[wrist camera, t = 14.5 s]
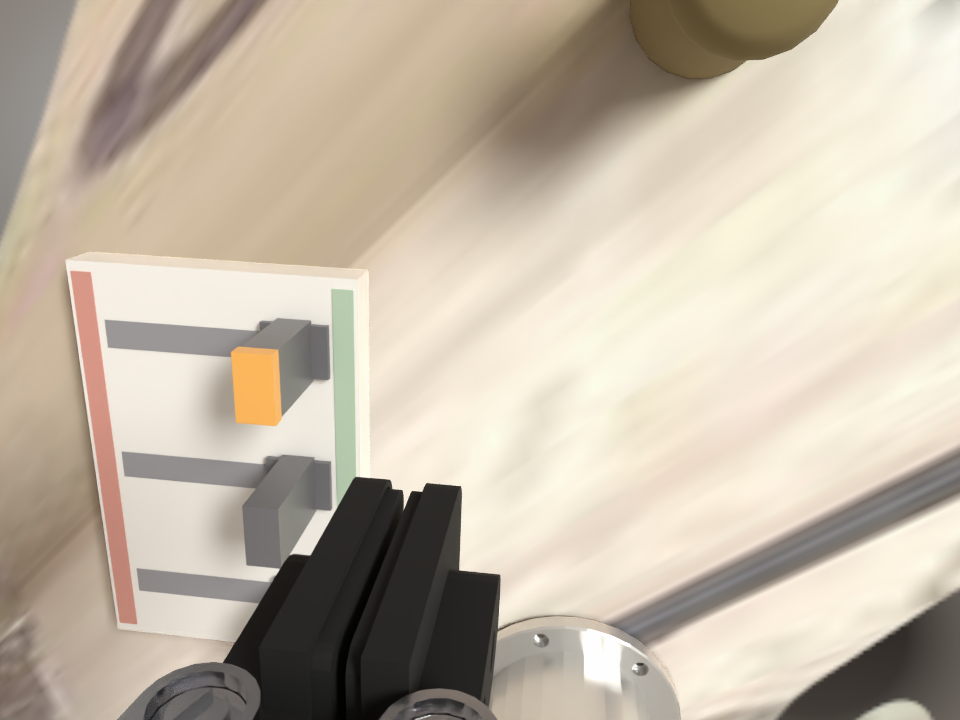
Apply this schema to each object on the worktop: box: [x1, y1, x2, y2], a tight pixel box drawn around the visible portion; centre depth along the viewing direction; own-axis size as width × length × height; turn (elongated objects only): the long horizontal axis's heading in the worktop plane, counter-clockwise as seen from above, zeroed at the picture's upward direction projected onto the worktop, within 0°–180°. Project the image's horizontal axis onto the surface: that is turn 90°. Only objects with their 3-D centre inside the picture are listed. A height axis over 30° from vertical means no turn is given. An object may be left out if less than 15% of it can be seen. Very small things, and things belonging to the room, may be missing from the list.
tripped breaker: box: [231, 318, 330, 426], centre depth 34 cm, size 3×3×5 cm
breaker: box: [242, 455, 332, 569], centre depth 36 cm, size 3×3×5 cm
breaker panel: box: [65, 251, 370, 642], centre depth 40 cm, size 14×21×2 cm, turn 178°
